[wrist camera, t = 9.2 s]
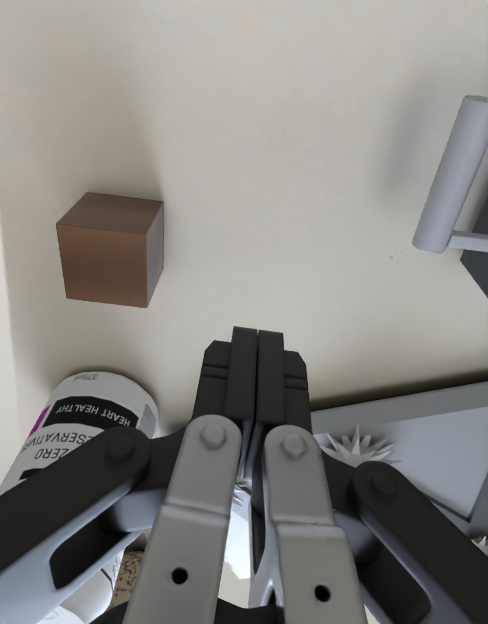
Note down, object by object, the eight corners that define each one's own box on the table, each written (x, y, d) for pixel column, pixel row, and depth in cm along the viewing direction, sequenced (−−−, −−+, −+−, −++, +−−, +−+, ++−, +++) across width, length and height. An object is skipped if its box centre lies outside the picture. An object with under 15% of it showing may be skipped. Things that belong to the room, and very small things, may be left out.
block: (86, 191, 25) (55, 223, 21) (164, 201, 25) (146, 234, 22) (93, 260, 28) (66, 299, 24) (163, 269, 28) (147, 308, 24)
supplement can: (108, 450, 38) (30, 663, 26) (34, 391, 34) (-99, 606, 22) (182, 417, 35) (133, 638, 23) (109, 348, 32) (6, 568, 19)
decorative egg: (131, 574, 51) (104, 684, 43) (94, 543, 47) (57, 657, 39) (185, 564, 49) (168, 677, 41) (151, 531, 45) (124, 648, 37)
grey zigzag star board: (235, 558, 48) (230, 636, 42) (154, 426, 36) (131, 507, 30) (542, 527, 41) (587, 613, 35) (562, 354, 30) (633, 440, 24)
